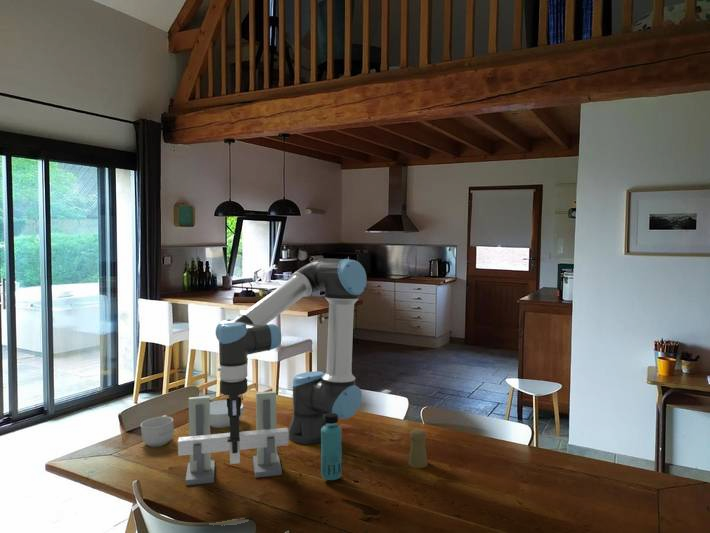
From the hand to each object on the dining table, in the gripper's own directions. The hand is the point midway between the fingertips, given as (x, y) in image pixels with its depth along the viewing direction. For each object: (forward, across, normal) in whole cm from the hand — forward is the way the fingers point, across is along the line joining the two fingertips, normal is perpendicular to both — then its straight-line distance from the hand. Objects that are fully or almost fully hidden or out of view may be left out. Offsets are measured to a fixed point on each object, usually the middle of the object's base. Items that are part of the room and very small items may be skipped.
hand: (234, 460), depth 147 cm
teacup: (+10, -44, -25) cm, 52 cm away
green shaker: (+10, -5, +57) cm, 58 cm away
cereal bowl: (+10, -56, -4) cm, 57 cm away
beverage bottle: (+10, -1, +28) cm, 30 cm away
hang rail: (-3, 0, 0) cm, 3 cm away
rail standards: (+10, -9, 0) cm, 13 cm away
